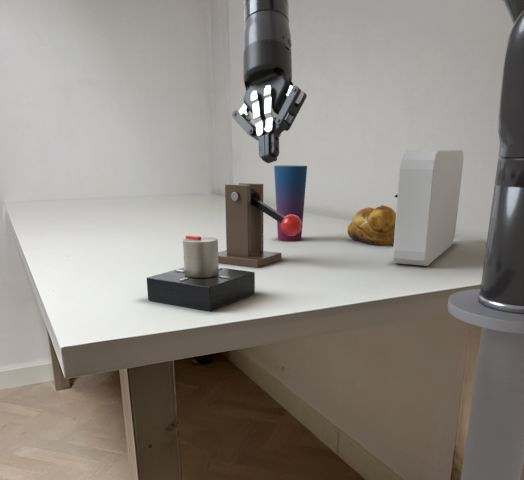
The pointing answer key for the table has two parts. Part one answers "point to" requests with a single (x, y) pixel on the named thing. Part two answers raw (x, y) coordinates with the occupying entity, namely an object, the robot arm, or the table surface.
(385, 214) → the bread roll
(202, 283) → the black square base
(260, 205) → the lever
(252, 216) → the brown lever stand
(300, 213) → the cup
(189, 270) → the knob
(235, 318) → the table surface
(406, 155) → the rounded white slab
